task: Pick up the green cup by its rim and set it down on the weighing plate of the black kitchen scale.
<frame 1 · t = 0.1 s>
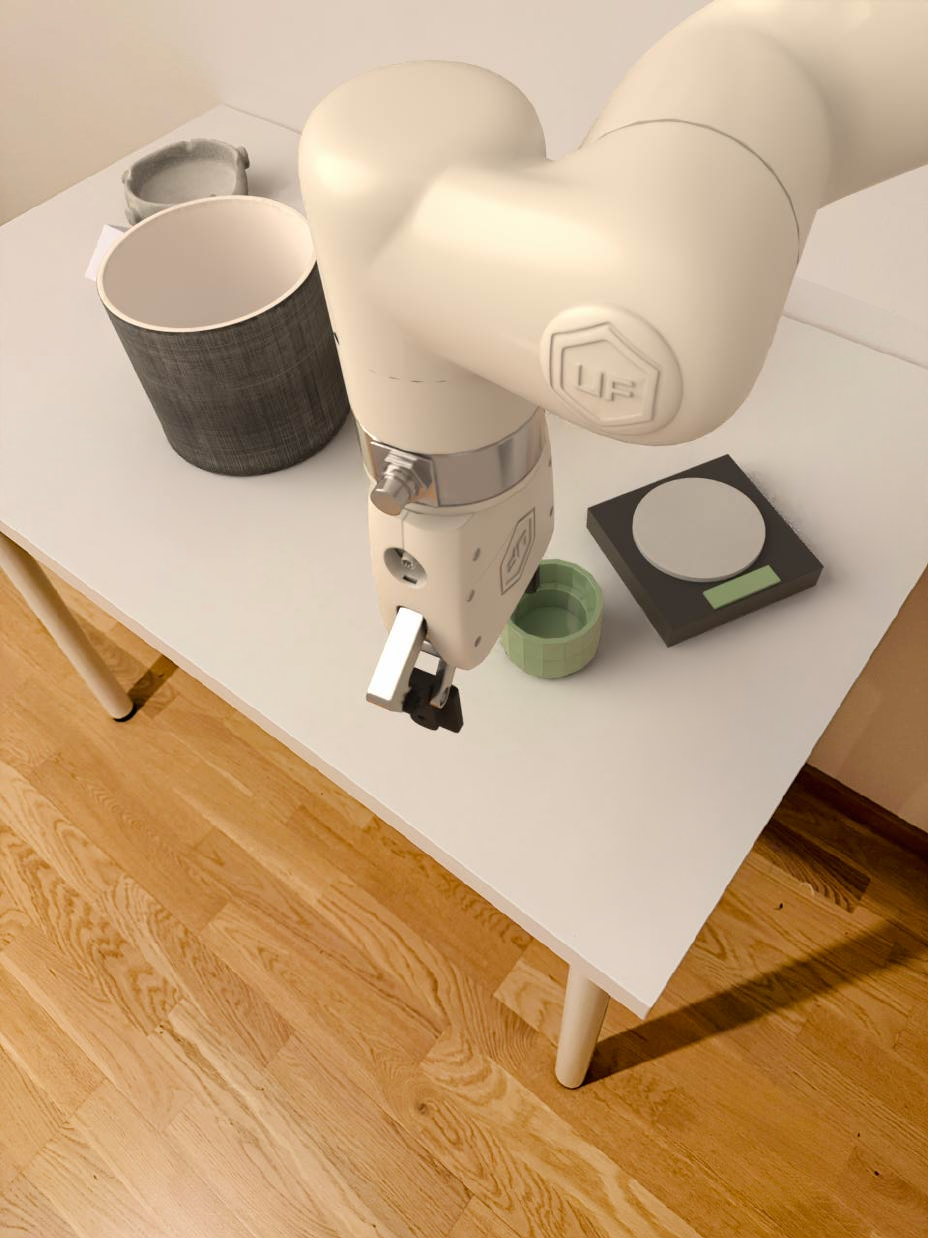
hand: (475, 647, 50), 15 cm above the table, tool pointing down, fingers open, 9 cm apart
planter: (259, 408, 85), on the table
wedge on round base: (170, 302, 95), on the table
scale: (697, 555, 72), on the table
teapot: (560, 358, 86), on the table
jar: (364, 271, 96), on the table
dish: (192, 213, 104), on the table
green cup: (550, 639, 68), on the table
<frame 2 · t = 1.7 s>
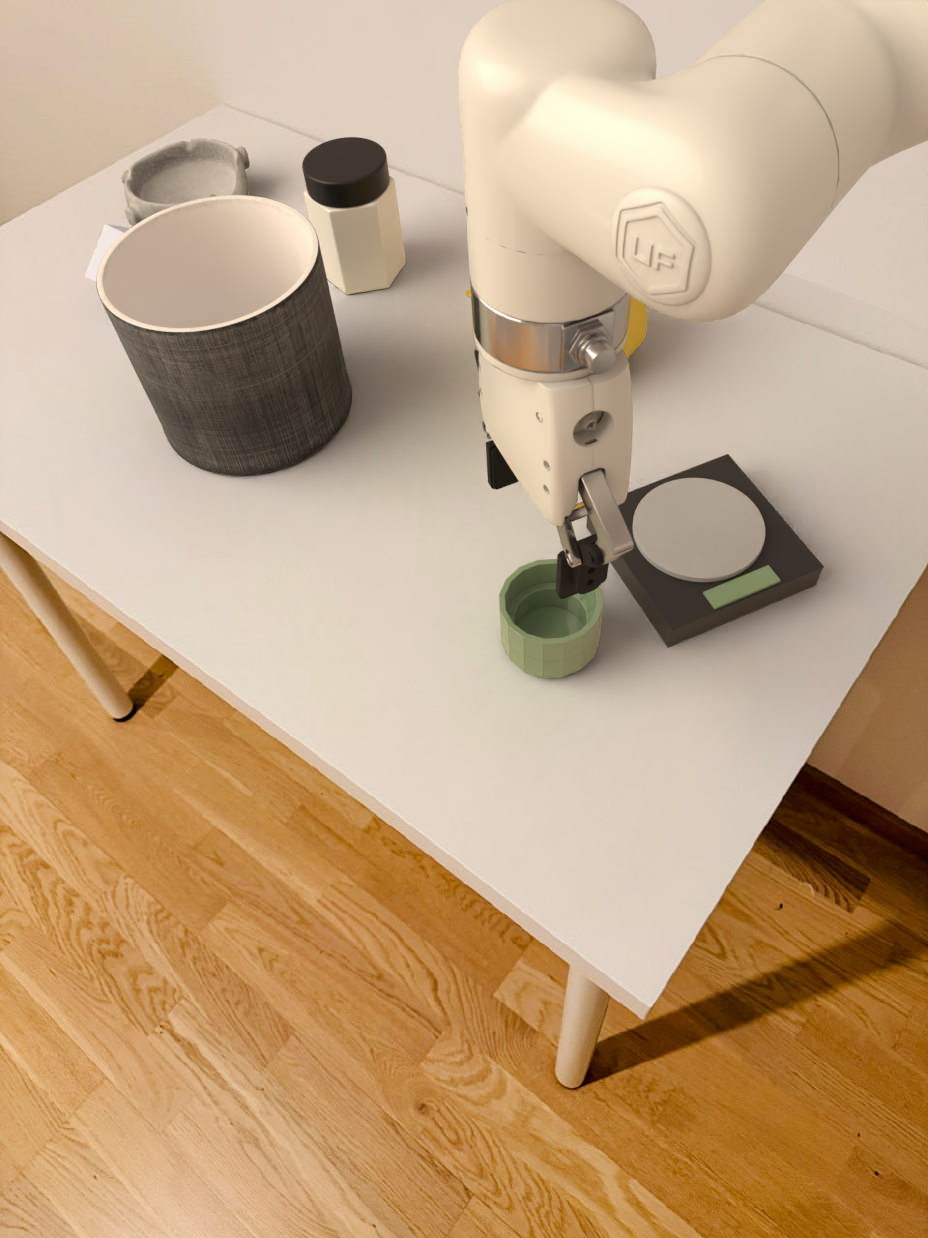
hand: (544, 531, 57), 13 cm above the table, tool pointing down, fingers open, 9 cm apart
nothing on the table moved.
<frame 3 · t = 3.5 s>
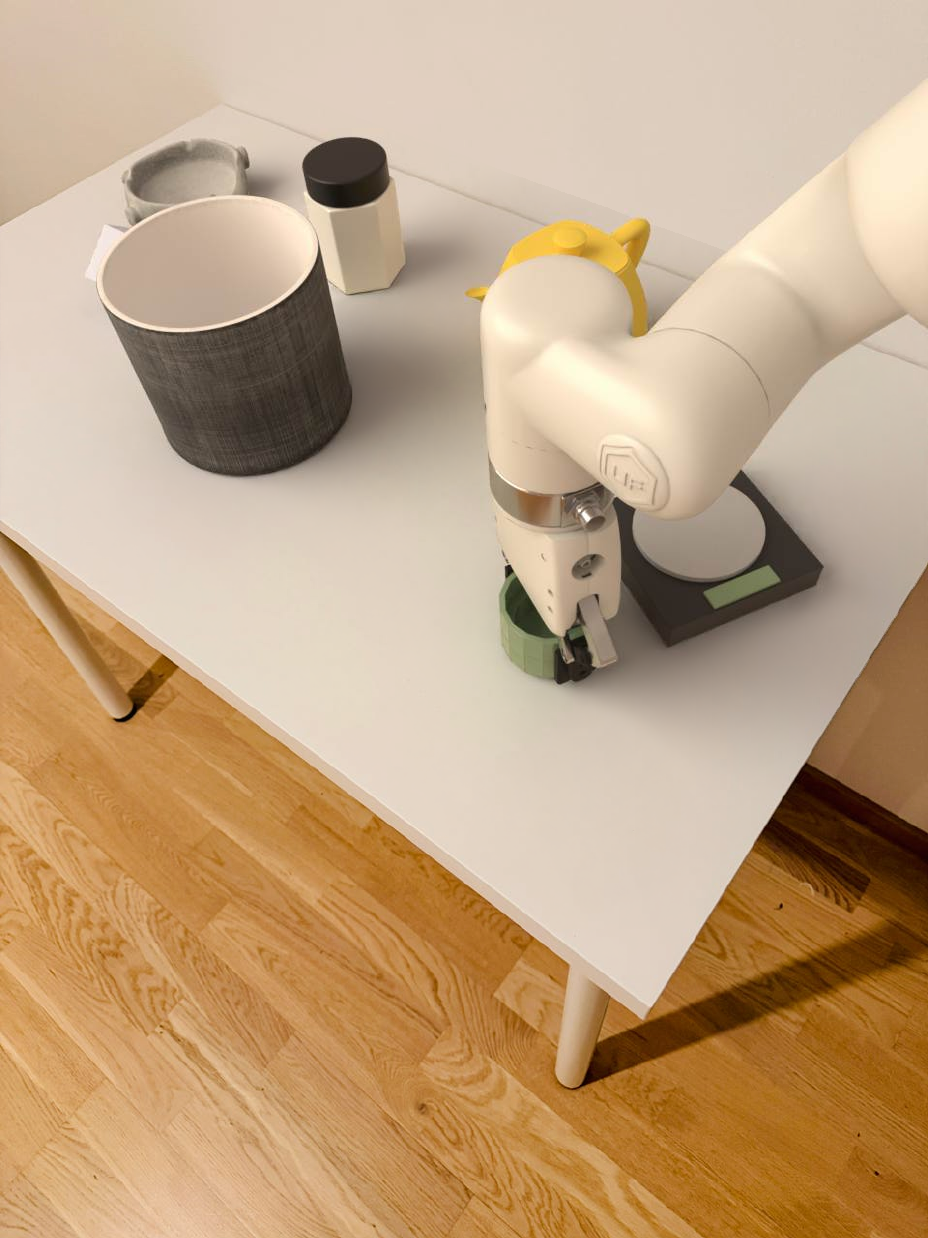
hand: (550, 631, 67), 1 cm above the table, tool pointing down, fingers closed on green cup, 7 cm apart
green cup: (550, 639, 68), on the table, touching gripper
everything else where it was.
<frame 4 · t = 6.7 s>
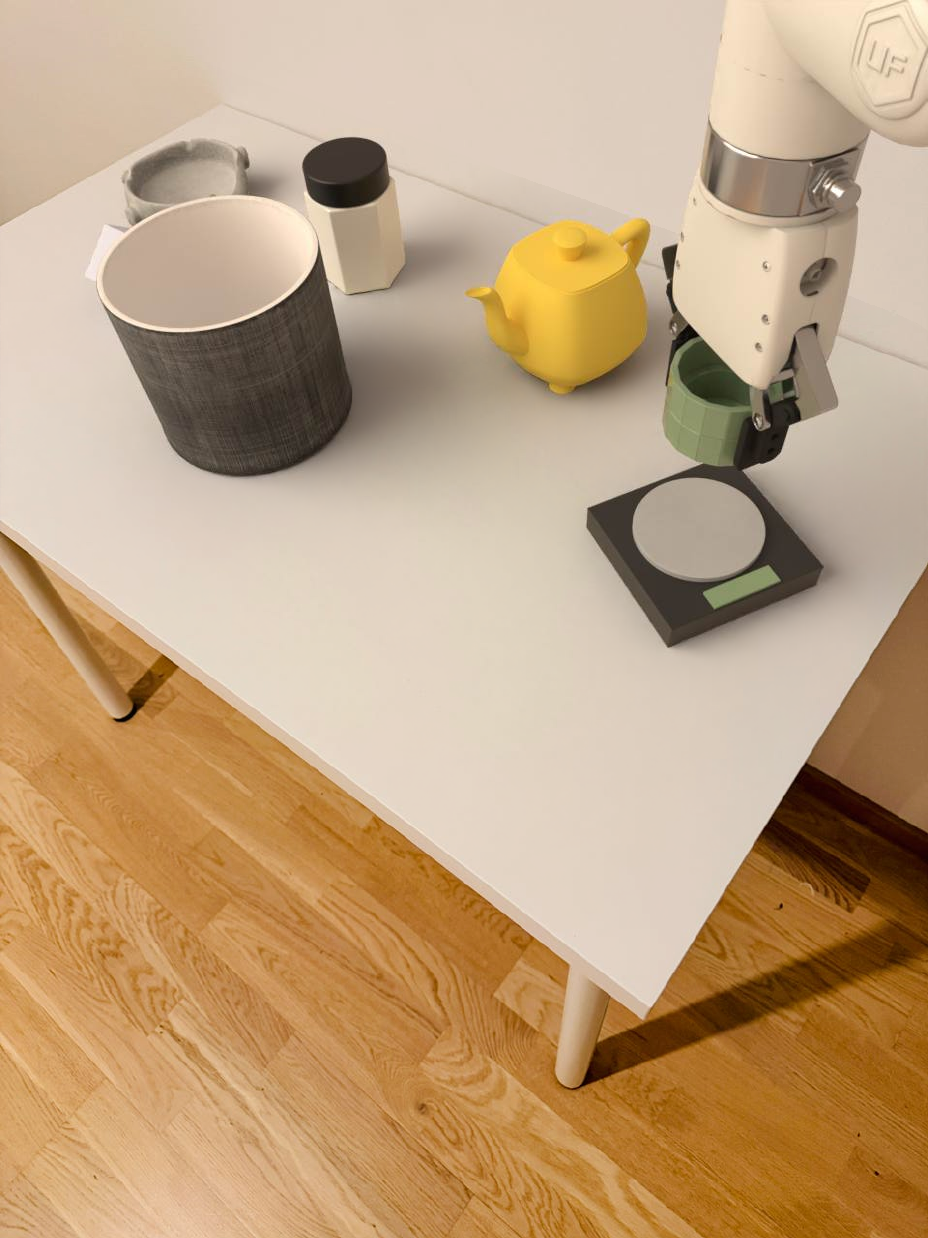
hand: (720, 418, 59), 15 cm above the table, tool pointing down, fingers closed on green cup, 7 cm apart
green cup: (717, 430, 60), point 14 cm above the table, touching gripper
everything else where it was.
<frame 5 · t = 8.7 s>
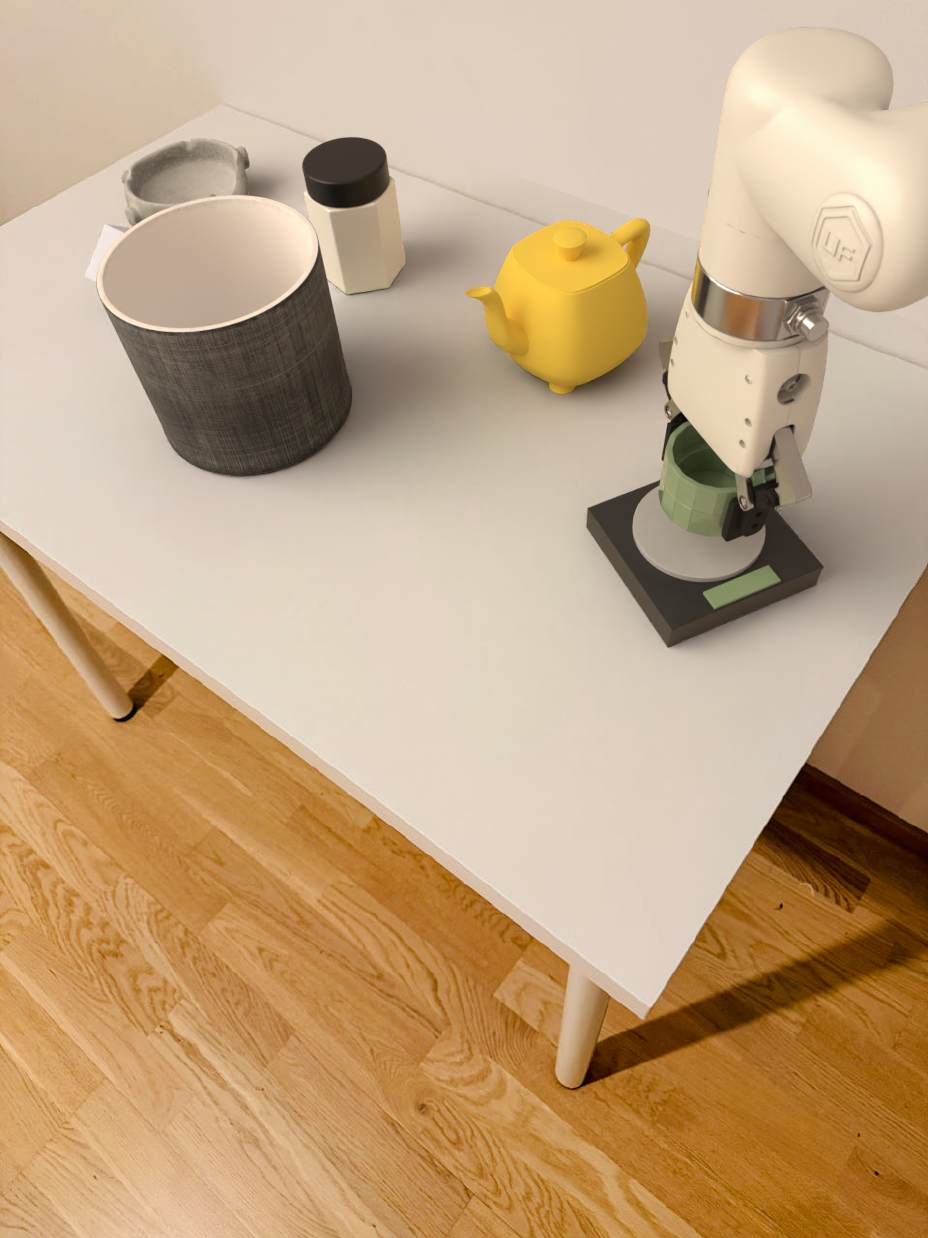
hand: (710, 492, 66), 7 cm above the table, tool pointing down, fingers closed on green cup, 7 cm apart
green cup: (708, 502, 67), point 6 cm above the table, touching gripper
everything else where it was.
when the fingers open (4 cm above the table, at t = 10.3 s): green cup stays where it is, resting on scale.
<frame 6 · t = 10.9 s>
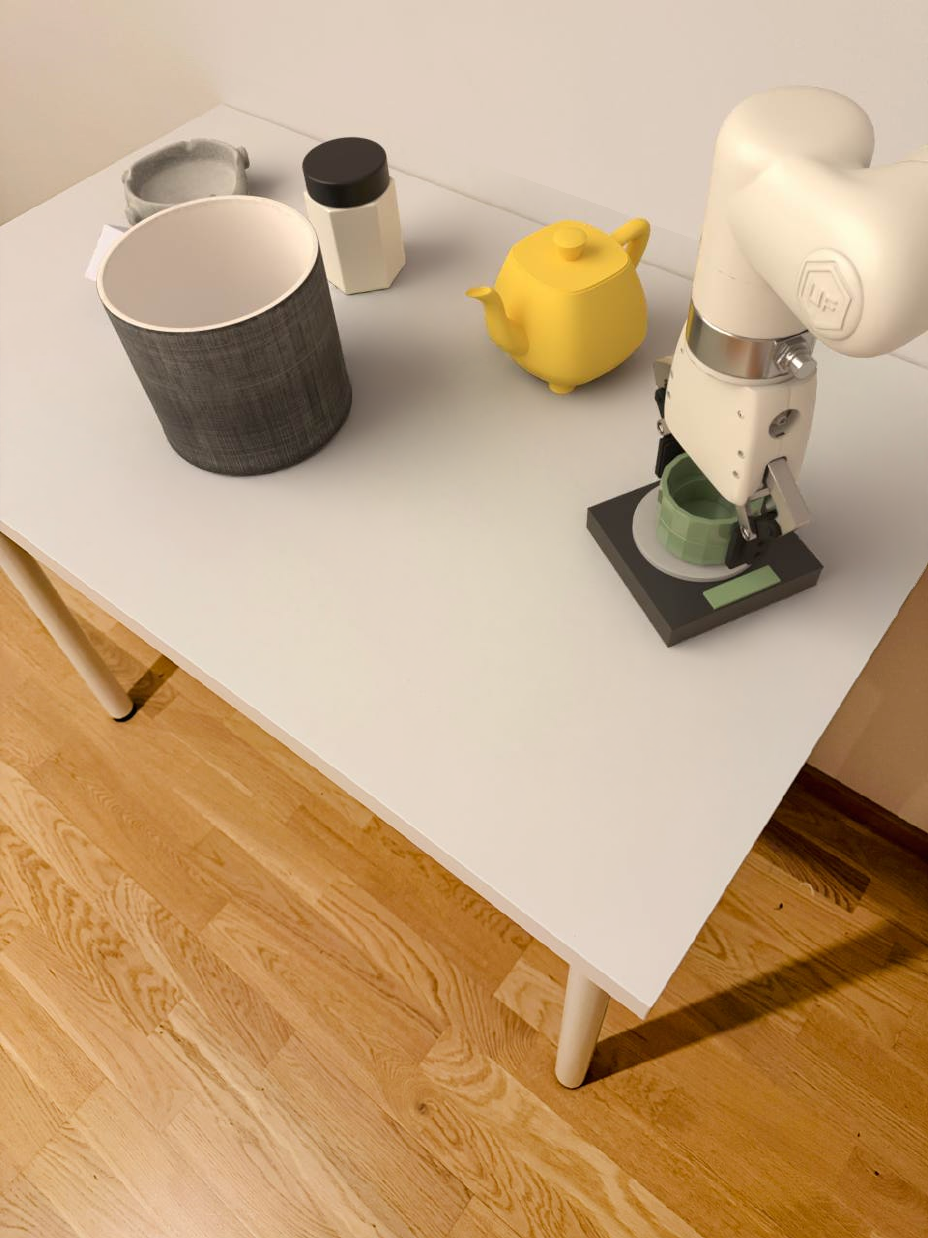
hand: (708, 513, 67), 5 cm above the table, tool pointing down, fingers open, 9 cm apart
green cup: (702, 530, 69), point 3 cm above the table, touching scale
everything else where it was.
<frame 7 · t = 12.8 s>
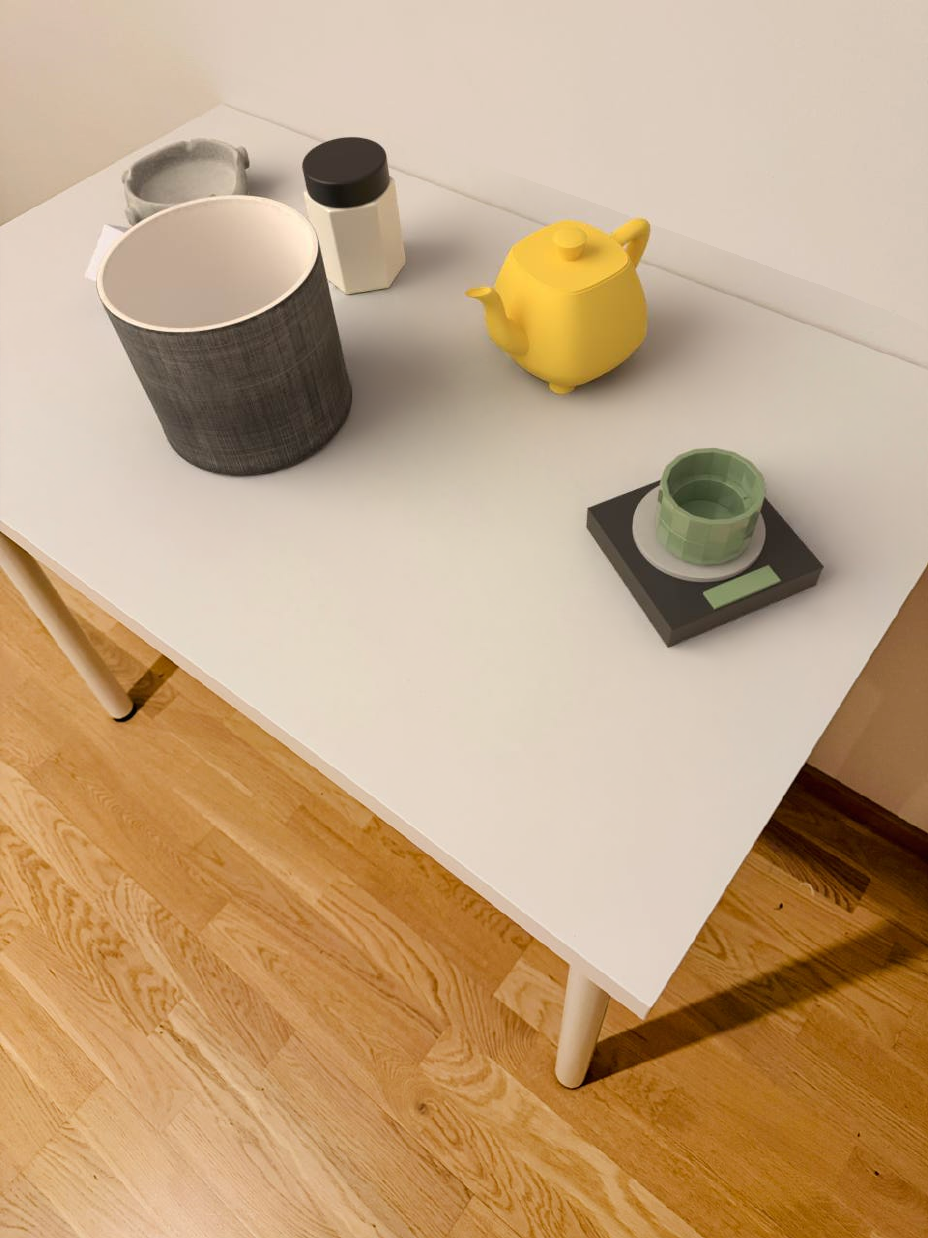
nothing on the table moved.
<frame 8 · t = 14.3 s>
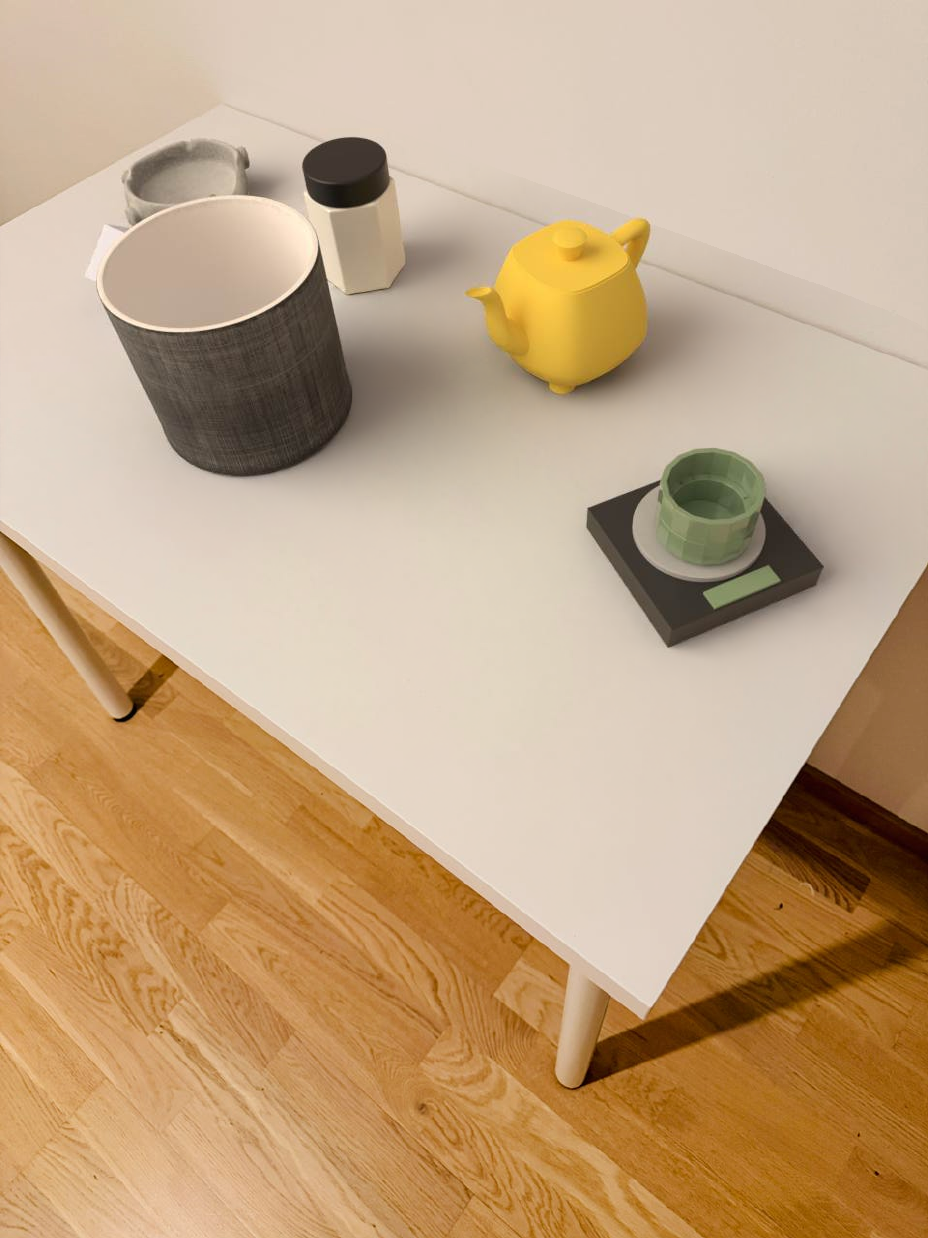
nothing on the table moved.
at the end: green cup inside the target area on the scale (0.4 cm from its centre), point 3.0 cm above the scale's base; green cup tilted 0°; the gripper is holding nothing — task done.
